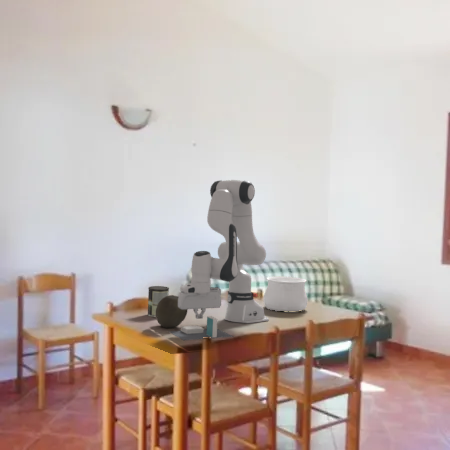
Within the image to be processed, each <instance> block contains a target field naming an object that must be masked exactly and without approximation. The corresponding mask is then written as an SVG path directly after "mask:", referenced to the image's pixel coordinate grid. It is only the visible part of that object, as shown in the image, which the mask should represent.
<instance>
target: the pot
mask: <svg viewBox="0 0 450 450" xmlns="http://www.w3.org/2000/svg"><path fill="white" fill-rule="evenodd" d="M266 280H267V287H266V289H265V291H264V294H263V305H264V306H265V308H266V309H268V310H269V309H270V310H269V311H272V310H275V311H274V312H277V311H299V310H303V309H304V310H305V309H306V308H307V306H308V295H307V293H306V290H305V289H306V288H305V283H306V282H307V279H305V278H302V277H296V276H295V277H294V276H268V277H266ZM304 310H303V311H304Z"/></svg>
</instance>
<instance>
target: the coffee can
mask: <svg viewBox="0 0 450 450" xmlns="http://www.w3.org/2000/svg"><path fill="white" fill-rule="evenodd" d="M147 289H148V298H147V302H148V303H147V316H148V317H151V318H156V308H157V305H158V303H159V302H160V301H161V299H162V298H164V297H166V296H169V295H170V294H169V293H170V292H169V290H170V287H169V286H164V285H152V286H148V288H147Z"/></svg>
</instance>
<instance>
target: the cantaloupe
mask: <svg viewBox="0 0 450 450" xmlns="http://www.w3.org/2000/svg"><path fill="white" fill-rule="evenodd" d="M178 297H179V295H178V296H177V295H173V294H171V295H170V294H169V295H168V296H166V297H164V298H162V299H161V301H160V302H159V303H158V305H157V308H156V317H155V318H156V321H157V323H158V324H159V325H160V326H161V327H162V328H164V329H172V328H176V327H178V326H179V325H181V324H182V323H183V322H184V320H185V319H186V317H187V314H188V311H189V309H183V310H182V309H180V308H179V307H178Z"/></svg>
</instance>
